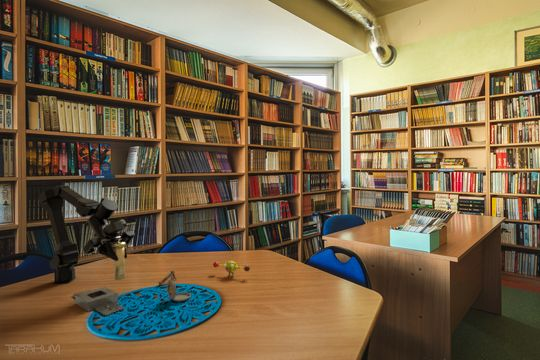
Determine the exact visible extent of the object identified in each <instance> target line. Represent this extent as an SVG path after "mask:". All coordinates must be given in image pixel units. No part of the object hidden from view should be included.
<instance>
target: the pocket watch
mask: <svg viewBox="0 0 540 360" xmlns="http://www.w3.org/2000/svg"><path fill="white" fill-rule="evenodd" d="M169 274H171V273H170V272H169ZM169 278H170V279H171V280H170V279H168V280H167V284H166V286H167V287H166V289H167V294H168V297H169V299H170V300H172V301H174V302H184V301H187V300H188V301H189V299H190V298H191V296H192V295H191V293H190V292H178V293H177V288H176V284H175V282H174V277H173V275H172V274H171V275H170V277H169Z"/></svg>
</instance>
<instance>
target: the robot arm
mask: <svg viewBox="0 0 540 360" xmlns="http://www.w3.org/2000/svg"><path fill="white" fill-rule="evenodd" d="M38 202H39V203H40V206H41V208H42V209H43V210H44V211H46V213H47V214H48V215H47V216H48V218H49V222H50V227H51V230H52V235H53V238H54V242H55V247H54V250H53V257H52V259H51V260H50V262H49V267H50V269H51V270H53V271H54V272H53V273H54V275H53V277H54V280H53V281H52V283H51V284H68V283H71V282H72V281H73V280H75V279H76V278H77V276H76V268H75V265H78V262H79V259H80V251H79V249H78V245H77V243H76V242H75V243H73V242H72V241H71V239H70V236H69V233H68V228H67V226H66V222H65V221H66V220H65V218H64V213H63V209H62V208H63V206H64V204H65V202H67V203H69V204H70V205H72V206H73V207H74V208H75V212H76V213H77V214H78V215H79V216H80V217H81V218H86V217H89V218H88V219H86V222H85V227H90V228H91V229H92V230H93V232H94V234H93V236H94V238H90V239H88V240H87V242H86V243H85V244H84V246H83V248H82V250H83V252H84V254H85V255H89V254H93V253H94V252H95V248H96V249H97V251H96V254H100V255H102V256H105V257H107V258H108V259H111V260H113V261H114V260H115V261H117V260H118V258H117V256H116V254H115V252H114V248H112V247H113V246H112V245H113V243H115V242H126V245H129V244H130V243H131V241H132V240H133V238H135V236H136V234H135V232H134V231H133V230H127V231H123V230H125V228H126V227H127V226H128V225H127V221H125V220H124V219H119V220H118V221H114V222H111V223H109V222H108V220H109V219H111V217H112V216H113V215H114V213H115V212H116V211H117V209H118V208H119V206H118V203H117V202H115V201H114V200H113V199H110V198H109V197H102V198H101V199H100V201H98V200H95V199H90V198H86V197H84V196H82V195H81V194H80V193H78V192H77V191H75V190H73V189H72V188H71V187H70V186H69V185H57V186H54V187H52V188H50V189H47V190H45V191H44V190H43V191H42V192H41V193H40V194H38ZM121 231H123V232H122V234H120V232H121ZM119 234H120V236H118V235H119ZM126 245H125V246H124V250H125V259H127V258H128V254H127V253H128V252H127V248H126V247H127V246H126Z"/></svg>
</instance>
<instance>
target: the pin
mask: <svg viewBox="0 0 540 360" xmlns="http://www.w3.org/2000/svg"><path fill="white" fill-rule="evenodd" d="M125 245H127V244H126V242H115V243H112V247H113V251H114V252H115V254H116V256H117V258H118V260H117V261H115V260H113V271H114V272H113V273H114V274H113V277H114V280H115V281H121V280H124V279H125V278H126V267H125V264H126V262H125V261H126V260H125V259H126V258H125V250H124V246H125Z"/></svg>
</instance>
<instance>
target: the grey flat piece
mask: <svg viewBox="0 0 540 360" xmlns="http://www.w3.org/2000/svg"><path fill="white" fill-rule="evenodd" d="M72 297H73V298H75V302H74V303H75V305H77V306H78V307H80V308H82V309H83V310H84V311H86V312H90V311H91V312H92V311H94V310H95V311H96V312H97V313H99V312H100V313H99V314H101V313H102V314H101V315H103V316H104V315H105V317H107V316H110V315H112V314H111V313H113V312H116V311H118V312H120V311H119V310H121V311H123V310H122V309H124V308H125V307H122V306H121V305H119V304H118V303H117V302H119V293H118V292H116V291H115V290H113V289H110V288H109V287H106V286H103V287H99V288H96V289H93V290H91V289H88V290H85V291H81V292H78V293H75V294H72ZM124 310H125V309H124ZM116 313H117V312H116ZM109 314H110V315H109ZM113 314H114V313H113ZM106 315H107V316H106Z"/></svg>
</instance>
